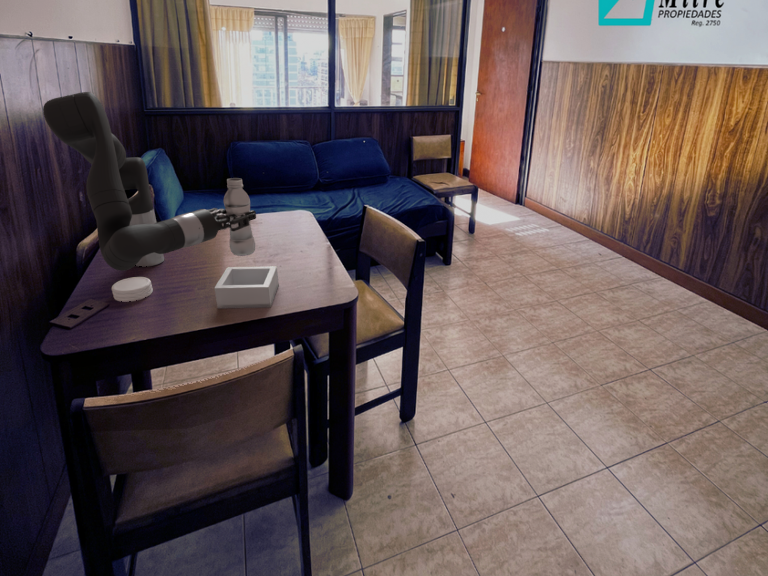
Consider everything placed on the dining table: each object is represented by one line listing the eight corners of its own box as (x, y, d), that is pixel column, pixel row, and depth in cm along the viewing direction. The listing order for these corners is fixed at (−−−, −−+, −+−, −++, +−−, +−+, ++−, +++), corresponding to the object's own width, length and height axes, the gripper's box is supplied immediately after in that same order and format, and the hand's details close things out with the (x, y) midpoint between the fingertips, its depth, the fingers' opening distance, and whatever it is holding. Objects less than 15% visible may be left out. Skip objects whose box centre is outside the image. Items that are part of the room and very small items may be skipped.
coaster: (157, 286, 141) (155, 275, 140) (146, 301, 132) (143, 290, 131) (121, 288, 140) (119, 277, 138) (108, 303, 131) (105, 292, 130)
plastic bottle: (249, 259, 125) (241, 183, 117) (225, 257, 127) (215, 181, 118) (260, 251, 131) (252, 177, 123) (237, 249, 132) (228, 176, 124)
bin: (217, 308, 128) (214, 288, 125) (230, 286, 141) (227, 267, 138) (270, 307, 129) (268, 287, 126) (278, 285, 141) (276, 266, 139)
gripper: (209, 218, 108) (264, 202, 121) (169, 208, 115) (224, 194, 128) (214, 249, 111) (266, 230, 124) (175, 238, 118) (228, 221, 131)
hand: (245, 212), depth 126 cm, fingers closed on plastic bottle, 6 cm apart
